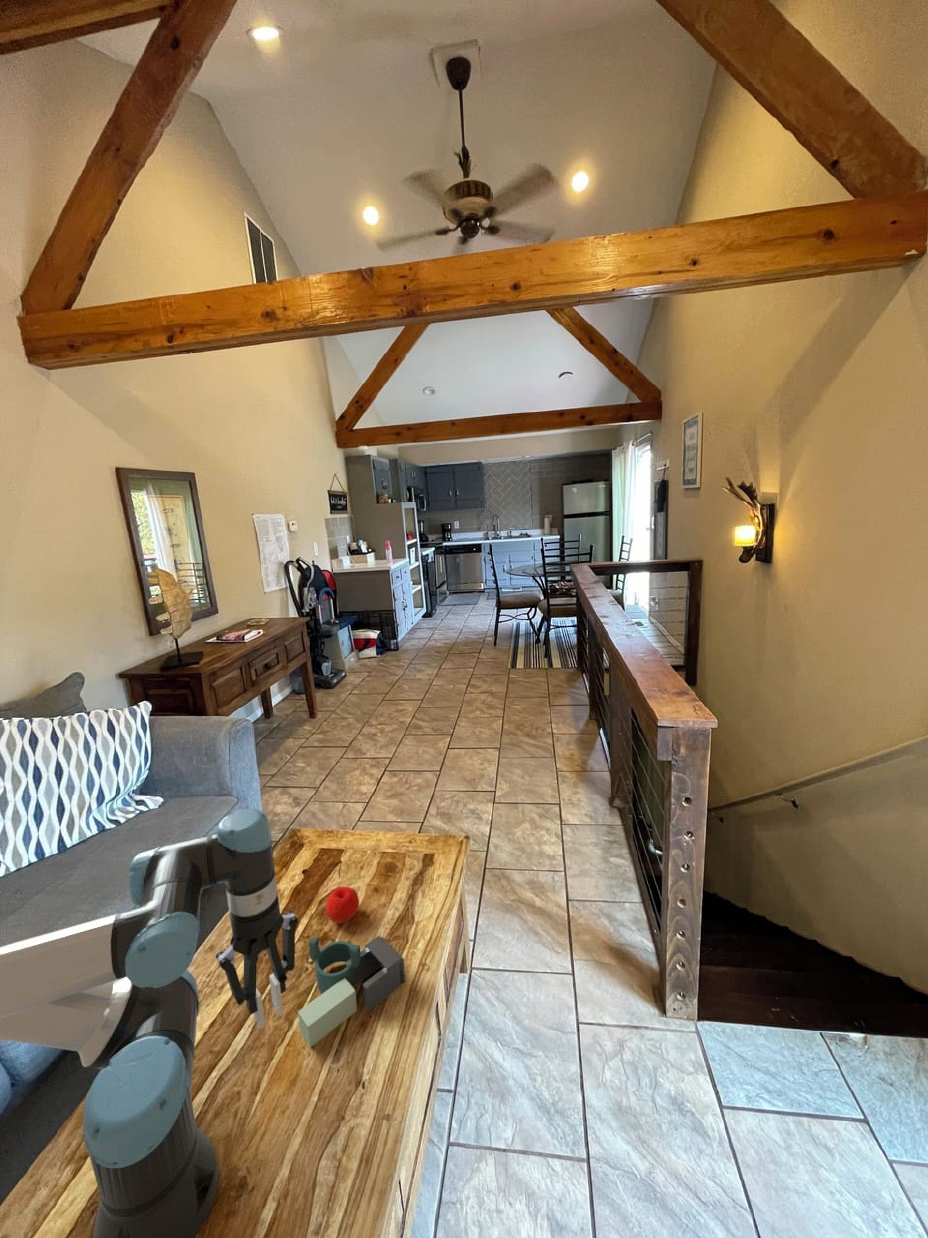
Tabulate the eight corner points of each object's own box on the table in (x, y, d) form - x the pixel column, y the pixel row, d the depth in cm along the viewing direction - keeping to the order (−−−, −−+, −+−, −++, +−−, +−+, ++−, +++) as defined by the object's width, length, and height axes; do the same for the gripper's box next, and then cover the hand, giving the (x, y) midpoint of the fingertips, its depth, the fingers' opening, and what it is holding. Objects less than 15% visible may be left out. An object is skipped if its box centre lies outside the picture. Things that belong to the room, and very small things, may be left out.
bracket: (364, 984, 105) (362, 948, 103) (319, 1005, 101) (316, 967, 99) (352, 951, 112) (349, 917, 111) (310, 969, 108) (306, 934, 106)
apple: (344, 937, 117) (341, 910, 115) (319, 924, 121) (316, 897, 119) (366, 913, 124) (364, 887, 122) (342, 901, 128) (340, 876, 126)
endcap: (367, 1012, 99) (365, 985, 98) (346, 986, 105) (344, 959, 104) (405, 982, 106) (403, 956, 104) (383, 958, 111) (381, 933, 110)
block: (310, 1048, 93) (307, 1027, 92) (300, 1032, 96) (297, 1011, 95) (357, 1011, 100) (355, 990, 99) (346, 997, 103) (344, 977, 102)
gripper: (211, 943, 75) (230, 1066, 81) (308, 888, 86) (320, 1000, 91) (195, 915, 81) (215, 1032, 86) (288, 867, 91) (301, 973, 96)
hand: (269, 1015), depth 89 cm, fingers open, 3 cm apart
